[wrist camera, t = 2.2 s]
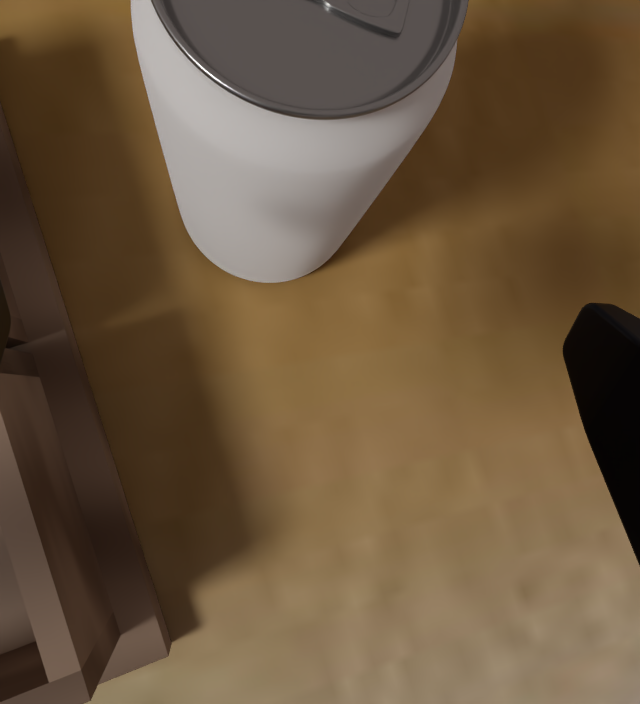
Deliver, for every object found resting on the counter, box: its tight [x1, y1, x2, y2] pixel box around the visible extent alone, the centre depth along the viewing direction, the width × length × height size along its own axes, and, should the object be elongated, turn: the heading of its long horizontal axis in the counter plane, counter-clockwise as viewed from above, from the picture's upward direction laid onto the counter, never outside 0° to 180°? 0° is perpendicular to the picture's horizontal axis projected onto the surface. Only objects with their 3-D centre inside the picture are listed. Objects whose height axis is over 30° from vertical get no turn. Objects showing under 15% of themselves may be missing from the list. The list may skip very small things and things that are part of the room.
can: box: [131, 0, 469, 283], centre depth 15 cm, size 6×6×12 cm
